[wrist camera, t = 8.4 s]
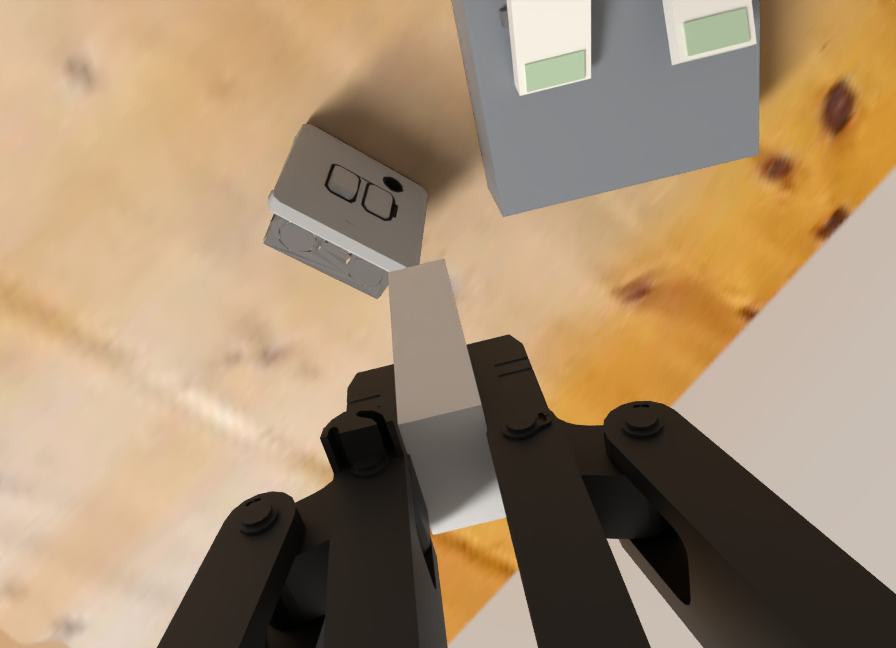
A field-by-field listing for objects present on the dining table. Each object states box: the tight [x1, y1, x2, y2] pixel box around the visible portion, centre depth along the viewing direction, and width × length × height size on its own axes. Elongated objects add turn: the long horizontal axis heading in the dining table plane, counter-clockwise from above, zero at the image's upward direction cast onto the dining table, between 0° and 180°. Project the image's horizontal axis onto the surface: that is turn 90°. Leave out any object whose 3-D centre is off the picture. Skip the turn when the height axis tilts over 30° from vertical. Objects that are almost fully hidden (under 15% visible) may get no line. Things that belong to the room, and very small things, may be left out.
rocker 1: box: [506, 0, 591, 96], centre depth 35 cm, size 8×4×1 cm, turn 13°
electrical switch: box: [263, 124, 428, 299], centre depth 43 cm, size 9×5×9 cm, turn 58°
